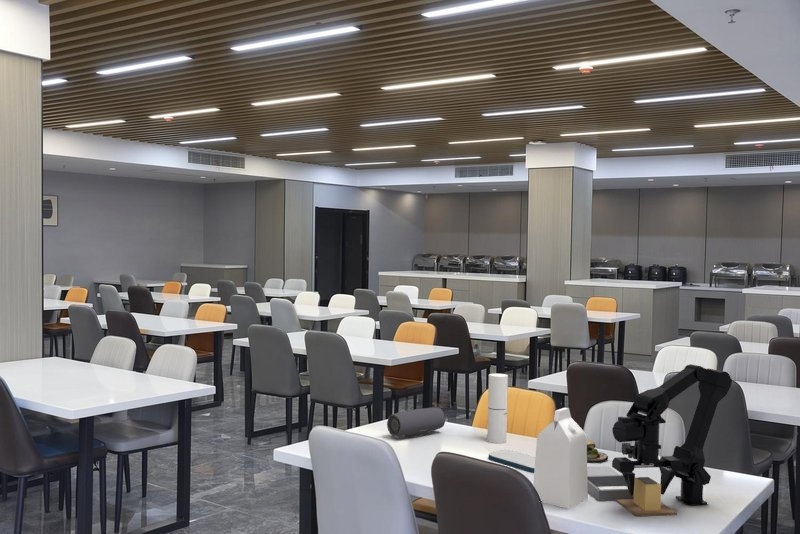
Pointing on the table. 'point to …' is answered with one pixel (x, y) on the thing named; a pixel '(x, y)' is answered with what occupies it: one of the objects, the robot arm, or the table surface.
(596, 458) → the burger
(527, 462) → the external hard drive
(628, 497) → the equipment case
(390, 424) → the bluetooth speaker
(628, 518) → the table surface
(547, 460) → the milk
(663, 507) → the walnut board
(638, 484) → the ochre module
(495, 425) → the cylindrical container
